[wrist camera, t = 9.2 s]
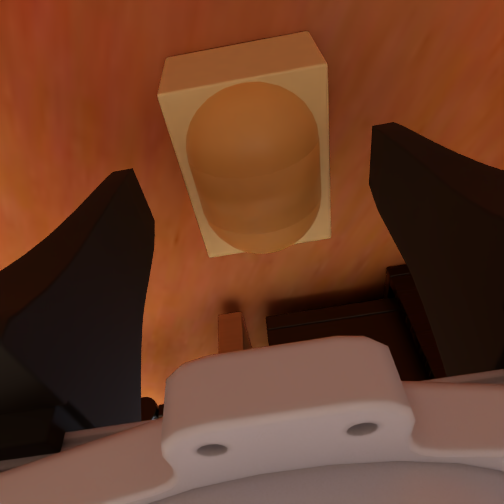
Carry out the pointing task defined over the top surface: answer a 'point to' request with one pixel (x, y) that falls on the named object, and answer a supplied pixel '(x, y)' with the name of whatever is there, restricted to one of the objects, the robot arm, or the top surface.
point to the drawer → (324, 335)
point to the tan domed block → (252, 141)
